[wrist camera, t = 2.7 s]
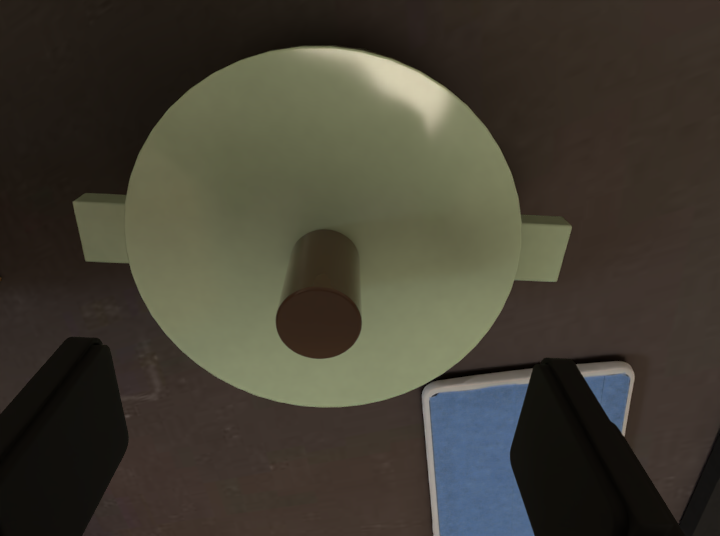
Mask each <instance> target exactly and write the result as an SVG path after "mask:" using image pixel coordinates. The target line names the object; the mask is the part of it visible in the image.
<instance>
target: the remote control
mask: <svg viewBox="0 0 720 536" xmlns="http://www.w3.org/2000/svg"><path fill="white" fill-rule="evenodd" d="M680 528H681V529H682V531H683V533H684V534H685V536H720V435H719V437H718V439H717V441H716V444H715V446H714V448H713V451H712V453H711V455H710V457H709V460H708V462H707V464H706V466H705V469H704V471H703V473H702V475H701V478H700V480H699V482H698V485H697V487H696V489H695V491H694V494H693V496H692V498H691V500H690V503H689V505H688V507H687V510H686V512H685V514H684V516H683V519H682V521H681V523H680Z"/></svg>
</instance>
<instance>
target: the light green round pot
mask: <svg viewBox="0 0 720 536" xmlns="http://www.w3.org/2000/svg"><path fill="white" fill-rule="evenodd" d="M358 49H364V48H358ZM364 50H366V49H364ZM367 51H370V50H368V49H367ZM371 52H372V51H371ZM125 199H126V195H117V194H97V193H84V194H83V195H81V196H80V197H79V198H77V199H76V200H74V201H73V207H74V212H75V216H76V221H77V226H78V230H79V235H80V239H81V244H82V248H83V253H84V257H85V261H87V262H110V263H129V260H128V256H127V252H126V243H125V234H124V211H125ZM521 220H522V234H521V250H520V257H519V263H518V269H517V272H516V275H515V279H514V280H522V281H545V282H556V281H557V279H558V276H559V272H560V269H561V265H562V261H563V258H564V254H565V251H566V247H567V243H568V240H569V236H570V233H571V229H572V226H571V225H570V224H569V223H568V222H567V221H566V220H565V219H564V218H563V217H558V216H538V215H521Z"/></svg>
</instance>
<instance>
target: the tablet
mask: <svg viewBox="0 0 720 536" xmlns="http://www.w3.org/2000/svg"><path fill="white" fill-rule="evenodd" d="M576 366H577V367H578V369H579V371H580V372H581V374H582V375H583V377H584V379H585V380H586V382H587V384H588V385H589V387H590V388H591V390H592V392H593V393H594V395H595V397H596V398H597V400H598V402H599V403H600V405H601V406H602V408H603V410H604V411H605V413H606V415H607V416H608V418H609V419H610V421H611V422H613V423H614V424H615V425H616V426H617V427H618V428H619V430H620V431H621V433H622V435H623V436H625V430H626V424H627V418H628V412H629V407H630V400H631V395H632V390H633V383H634V379H635V377H634V372H633V370H632V367H631V366H630V365H629V364H628V363H626V362H623V361H609V362H597V363H584V364H576ZM532 370H533V368H530V369H521V370H512V371H504V372H496V373H487V374H480V375H472V376H465V377H458V378H452V379H445V380H437V381H434V382H431V383H429V384H428V385H426V386H425V388H424V389H423V392H422V407H423V418H424V430H425V441H426V453H427V464H428V475H429V487H430V499H431V510H432V522H433V524H432V529H433V536H534V533H533V530H532V527H531V524H530V521H529V518H528V515H527V512H526V509H525V506H524V503H523V500H522V497H521V494H520V491H519V488H518V485H517V482H516V479H515V476H514V473H513V470H512V467H511V463H510V449H511V445H512V442H513V438H514V434H515V431H516V427H517V424H518V420H519V416H520V413H521V409H522V406H523V402H524V398H525V395H526V391H527V388H528V384H529V380H530V377H531V373H532Z"/></svg>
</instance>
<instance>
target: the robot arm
mask: <svg viewBox="0 0 720 536" xmlns="http://www.w3.org/2000/svg"><path fill="white" fill-rule="evenodd" d="M127 446H128V431H127V426H126V421H125V417H124V412H123V407H122V403H121V398H120V394H119V389H118V384H117V380H116V375H115V370H114V366H113V361H112V356H111V352H110V348H109V347H108V346H107V345H103V344H102V342H101V340H100V339H98V338H85V337H70V338H67V339H66V340H65V341H64V342H63V343H62V345H61V346H60V347H59V348H58V349H57V350H56V351H55V353H54V354H53V355H52V356H51V357H50V358H49V359H48V361H47V362H46V363H45V364H44V365H43V366H42V367H41V369H40V370H39V371H38V372H37V373H36V374H35V375H34V377H33V378H32V379H31V380H30V381H29V382H28V383H27V385H26V386H25V387H24V388H23V389H22V390H21V391H20V393H19V394H18V395H17V396H16V397H15V398H14V399H13V401H12V402H11V403H10V404H9V405H8V406H7V407H6V409H5V410H4V411H3V412H2V413H1V414H0V536H82V535H83V533H84V531H85V529H86V527H87V525H88V523H89V521H90V519H91V517H92V515H93V514H94V512H95V510H96V508H97V506H98V504H99V502H100V500H101V498H102V496H103V494H104V492H105V490H106V489H107V487H108V485H109V483H110V481H111V479H112V477H113V475H114V473H115V471H116V469H117V467H118V465H119V463H120V462H121V460H122V458H123V456H124V454H125V452H126V449H127ZM510 463H511V467H512V470H513V473H514V476H515V479H516V482H517V485H518V488H519V491H520V494H521V497H522V500H523V503H524V506H525V509H526V512H527V515H528V518H529V521H530V524H531V527H532V530H533V533H534V536H685V534H684V533H683V531H682V529H681V528H680V526H679V525H678V523H677V521H676V520H675V518H674V517H673V515H672V513H671V512H670V510H669V509H668V507H667V505H666V504H665V502H664V500H663V499H662V497H661V496H660V494H659V492H658V491H657V489H656V488H655V486H654V484H653V483H652V481H651V480H650V478H649V476H648V475H647V473H646V472H645V470H644V468H643V467H642V465H641V464H640V462H639V460H638V459H637V457H636V455H635V454H634V452H633V451H632V449H631V447H630V446H629V444H628V443H627V441H626V439H625V438H624V436H623V435H622V433H621V431H620V430H619V428H618V427H617V426H616V425H615V424H614V423H613V422H611V421H610V419H609V418H608V416H607V415H606V413H605V411H604V410H603V408H602V406H601V405H600V403H599V402H598V400H597V398H596V397H595V395H594V393H593V392H592V390H591V388H590V387H589V385H588V384H587V382H586V380H585V379H584V377H583V375H582V374H581V372H580V371H579V369H578V367H577V366H576V364H575V363H574V361H573V360H571V359H559V358H544V359H543V360H542V362H541V364H535V365H534V367H533V370H532V373H531V377H530V380H529V384H528V388H527V391H526V395H525V398H524V402H523V406H522V409H521V413H520V416H519V420H518V424H517V427H516V431H515V434H514V438H513V442H512V445H511V449H510Z"/></svg>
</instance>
